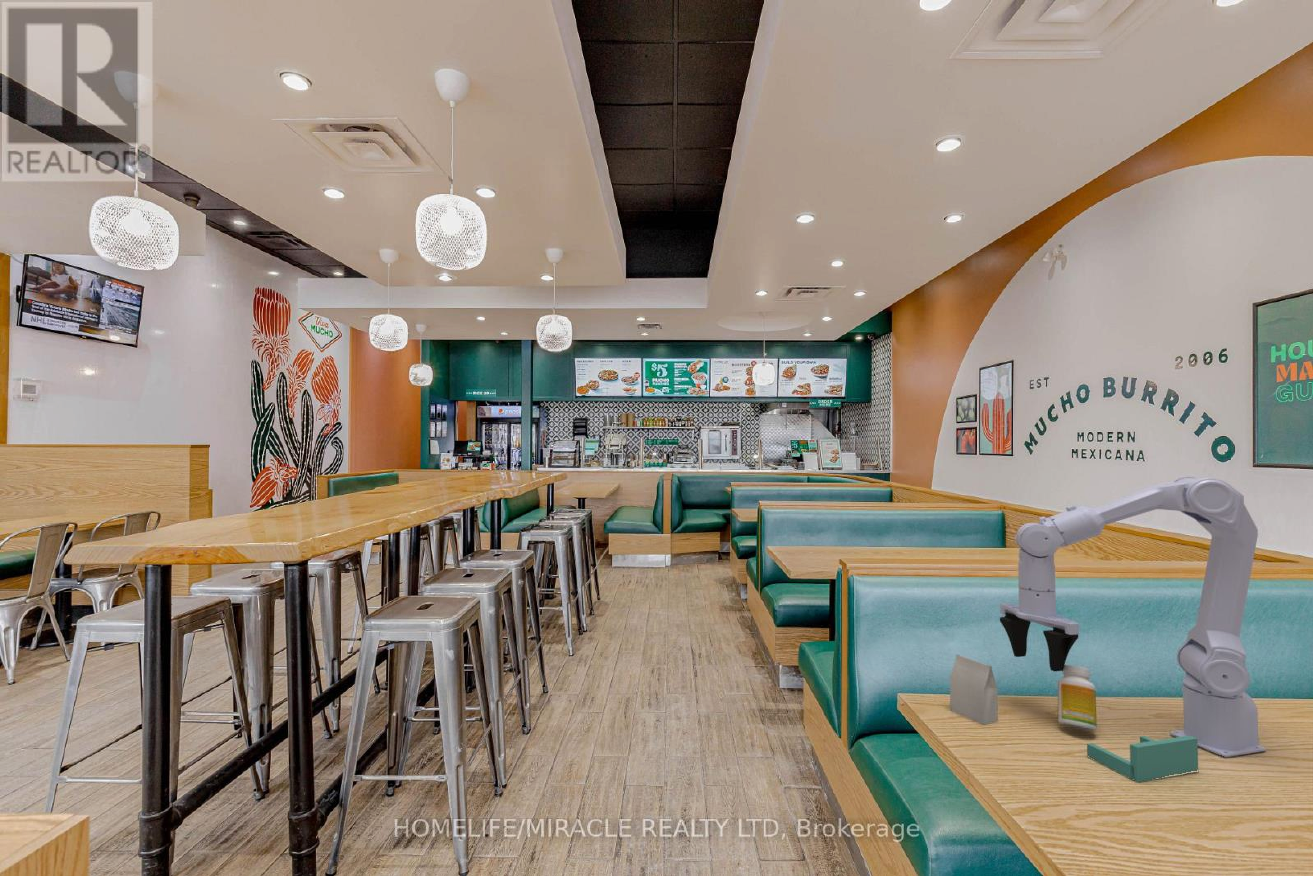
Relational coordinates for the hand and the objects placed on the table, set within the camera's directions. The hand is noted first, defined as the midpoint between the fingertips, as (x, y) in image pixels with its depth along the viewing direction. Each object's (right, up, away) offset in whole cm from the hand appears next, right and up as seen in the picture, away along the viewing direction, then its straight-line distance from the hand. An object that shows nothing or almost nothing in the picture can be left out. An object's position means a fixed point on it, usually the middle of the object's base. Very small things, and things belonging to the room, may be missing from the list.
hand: (1037, 663), depth 106 cm
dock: (+4, -9, -17) cm, 20 cm away
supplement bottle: (+2, -8, -7) cm, 11 cm away
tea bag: (-12, -10, -1) cm, 16 cm away
